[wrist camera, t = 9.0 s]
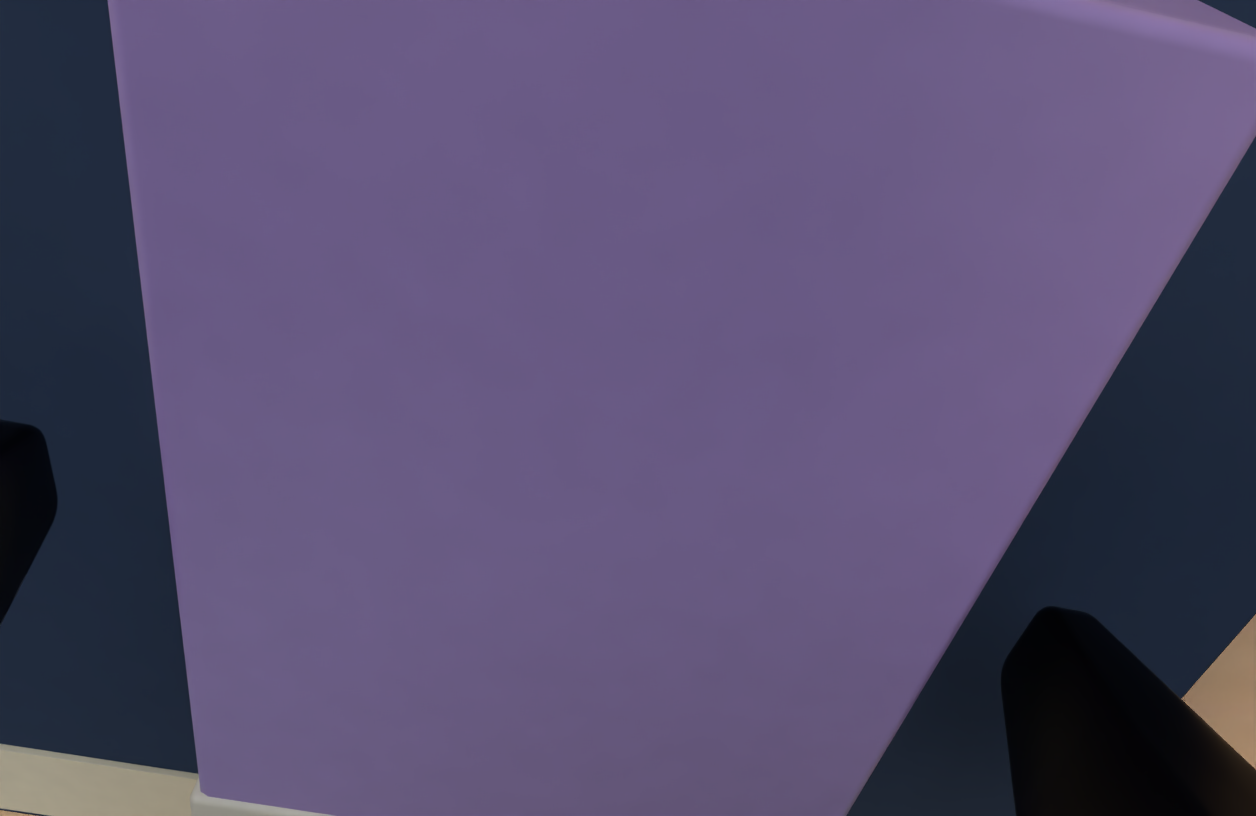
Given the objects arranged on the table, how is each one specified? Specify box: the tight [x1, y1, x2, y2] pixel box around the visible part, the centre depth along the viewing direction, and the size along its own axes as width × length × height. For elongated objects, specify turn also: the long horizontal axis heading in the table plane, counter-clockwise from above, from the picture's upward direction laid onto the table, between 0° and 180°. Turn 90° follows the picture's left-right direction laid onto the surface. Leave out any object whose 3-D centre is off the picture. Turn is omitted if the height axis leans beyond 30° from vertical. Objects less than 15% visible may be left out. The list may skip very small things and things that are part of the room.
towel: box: [0, 0, 1256, 816], centre depth 10 cm, size 16×18×1 cm
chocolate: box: [108, 0, 1256, 816], centre depth 8 cm, size 5×11×4 cm, turn 169°
